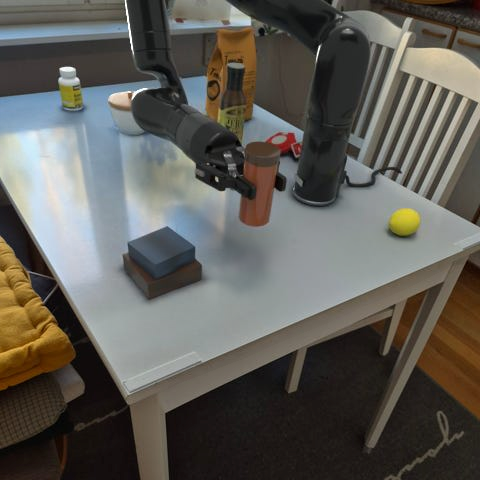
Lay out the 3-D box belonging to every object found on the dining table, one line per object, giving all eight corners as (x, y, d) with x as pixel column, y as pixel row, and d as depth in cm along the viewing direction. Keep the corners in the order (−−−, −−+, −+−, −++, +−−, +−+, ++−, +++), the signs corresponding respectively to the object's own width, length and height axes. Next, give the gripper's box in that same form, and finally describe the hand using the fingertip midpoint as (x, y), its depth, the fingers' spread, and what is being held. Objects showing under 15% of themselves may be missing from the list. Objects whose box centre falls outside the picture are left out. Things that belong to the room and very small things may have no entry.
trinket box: (103, 133, 118) (99, 94, 112) (123, 119, 126) (120, 81, 119) (142, 142, 116) (140, 102, 110) (160, 126, 124) (159, 89, 117)
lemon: (392, 242, 93) (401, 219, 89) (379, 227, 96) (386, 204, 92) (422, 238, 94) (432, 215, 91) (408, 224, 98) (416, 201, 94)
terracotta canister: (257, 206, 77) (266, 138, 69) (276, 221, 75) (288, 153, 67) (231, 214, 75) (237, 145, 67) (250, 230, 72) (259, 160, 64)
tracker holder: (257, 148, 116) (272, 125, 121) (260, 163, 120) (275, 141, 125) (303, 149, 111) (316, 126, 116) (305, 166, 114) (318, 142, 119)
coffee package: (200, 113, 133) (202, 24, 117) (238, 108, 138) (244, 22, 123) (218, 127, 127) (222, 34, 112) (256, 121, 132) (265, 32, 117)
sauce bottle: (223, 160, 113) (229, 70, 99) (211, 150, 116) (214, 62, 102) (246, 156, 115) (254, 68, 101) (233, 146, 119) (239, 59, 105)
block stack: (175, 252, 85) (174, 222, 80) (201, 279, 80) (202, 249, 75) (124, 269, 80) (120, 238, 76) (148, 299, 75) (146, 268, 71)
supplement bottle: (78, 112, 126) (72, 73, 119) (59, 109, 127) (52, 70, 120) (86, 106, 130) (81, 67, 123) (68, 103, 131) (62, 64, 124)
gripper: (169, 128, 72) (231, 176, 63) (244, 114, 79) (310, 156, 70) (170, 173, 78) (227, 224, 68) (240, 157, 84) (301, 201, 75)
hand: (269, 189), depth 69 cm, fingers closed on terracotta canister, 5 cm apart
